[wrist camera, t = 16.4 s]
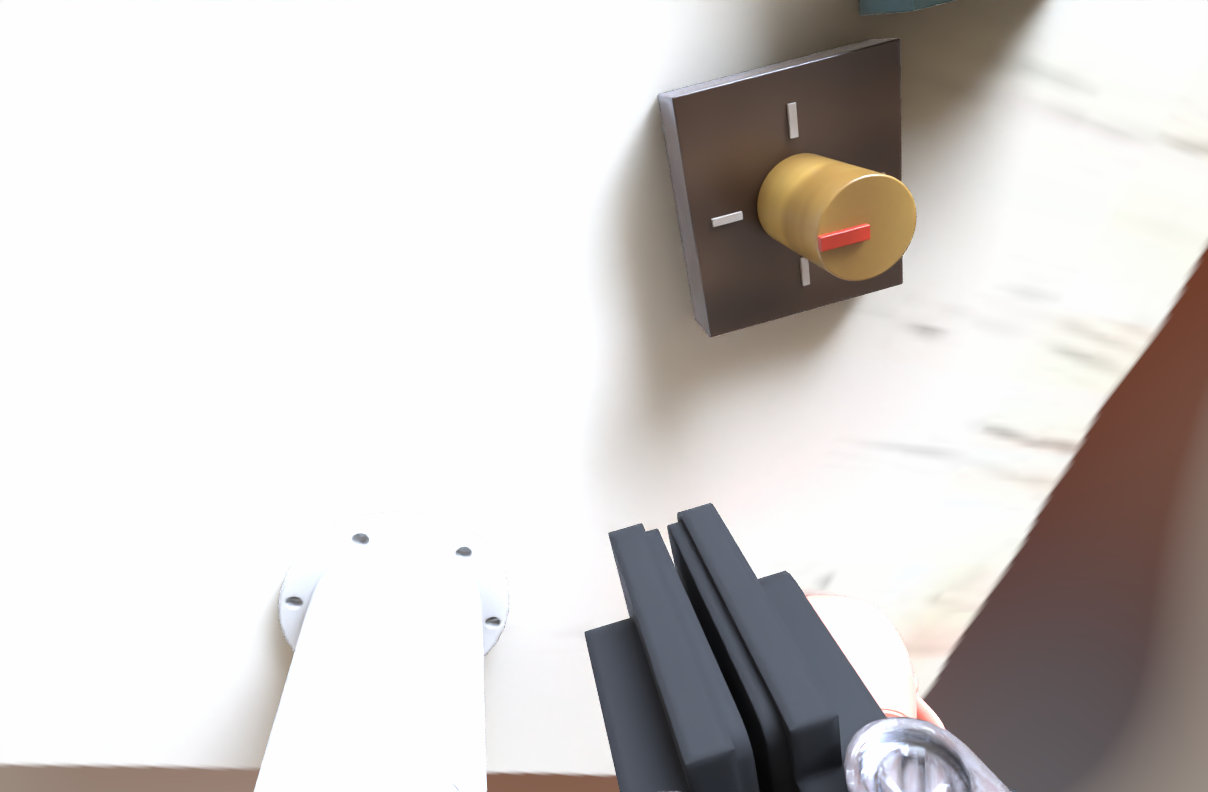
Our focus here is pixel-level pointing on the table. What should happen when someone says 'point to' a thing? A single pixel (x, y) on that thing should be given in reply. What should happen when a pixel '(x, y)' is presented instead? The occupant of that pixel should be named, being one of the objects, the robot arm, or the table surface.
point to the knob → (837, 215)
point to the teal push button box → (895, 6)
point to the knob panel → (751, 150)
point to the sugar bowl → (874, 654)
